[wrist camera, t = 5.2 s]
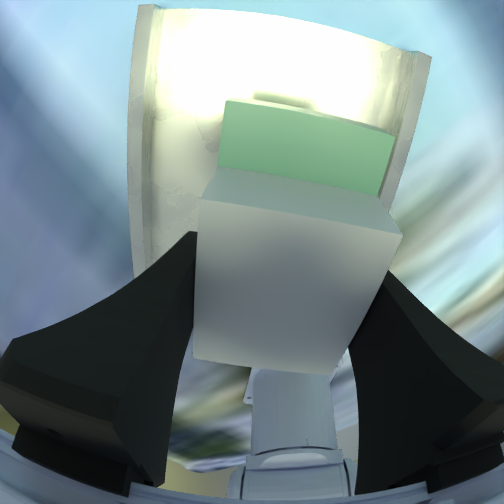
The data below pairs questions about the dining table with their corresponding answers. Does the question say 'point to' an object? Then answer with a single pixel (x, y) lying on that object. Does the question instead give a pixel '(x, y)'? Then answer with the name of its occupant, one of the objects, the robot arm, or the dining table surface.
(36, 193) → the dining table surface
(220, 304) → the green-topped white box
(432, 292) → the dining table surface
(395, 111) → the chassis
